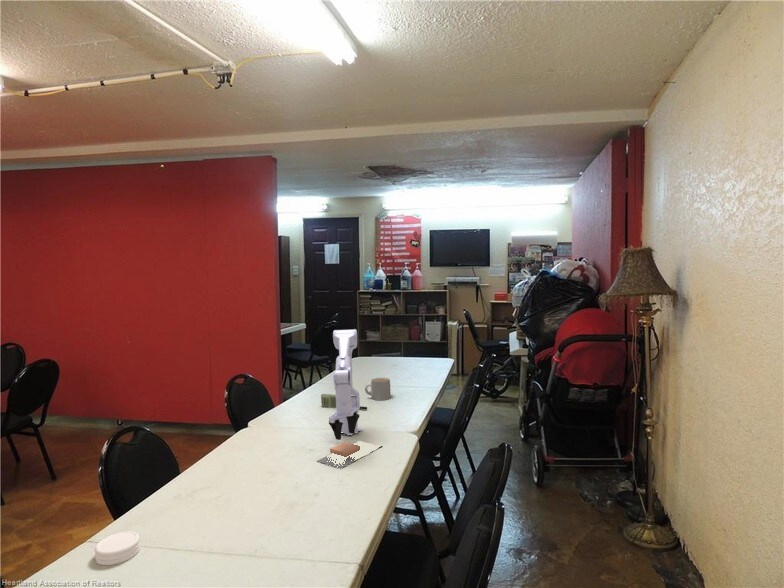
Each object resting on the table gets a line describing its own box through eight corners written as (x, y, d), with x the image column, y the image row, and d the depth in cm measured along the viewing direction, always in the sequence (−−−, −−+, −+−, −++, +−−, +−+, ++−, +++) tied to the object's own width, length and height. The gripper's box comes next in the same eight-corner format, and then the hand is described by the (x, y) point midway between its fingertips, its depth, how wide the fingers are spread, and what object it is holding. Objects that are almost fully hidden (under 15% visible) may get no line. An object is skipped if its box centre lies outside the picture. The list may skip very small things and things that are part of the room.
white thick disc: (86, 562, 120) (85, 548, 120) (121, 540, 129) (120, 527, 129) (115, 570, 116) (114, 556, 116) (149, 547, 126) (148, 534, 125)
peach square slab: (330, 448, 183) (345, 453, 178) (344, 441, 189) (359, 445, 184) (330, 453, 183) (346, 457, 178) (344, 446, 189) (360, 450, 184)
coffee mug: (391, 395, 261) (391, 377, 260) (389, 400, 251) (388, 381, 250) (367, 395, 262) (366, 377, 262) (364, 400, 252) (363, 382, 252)
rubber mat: (316, 461, 176) (316, 460, 176) (359, 440, 195) (359, 440, 195) (341, 469, 169) (341, 468, 169) (382, 446, 188) (382, 445, 188)
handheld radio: (324, 405, 247) (368, 409, 237) (320, 408, 244) (365, 412, 234) (323, 393, 246) (367, 396, 237) (320, 395, 243) (364, 398, 234)
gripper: (338, 407, 174) (339, 444, 175) (363, 397, 186) (365, 432, 187) (324, 404, 178) (325, 440, 179) (350, 395, 190) (351, 429, 191)
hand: (345, 436), depth 183 cm, fingers open, 7 cm apart
